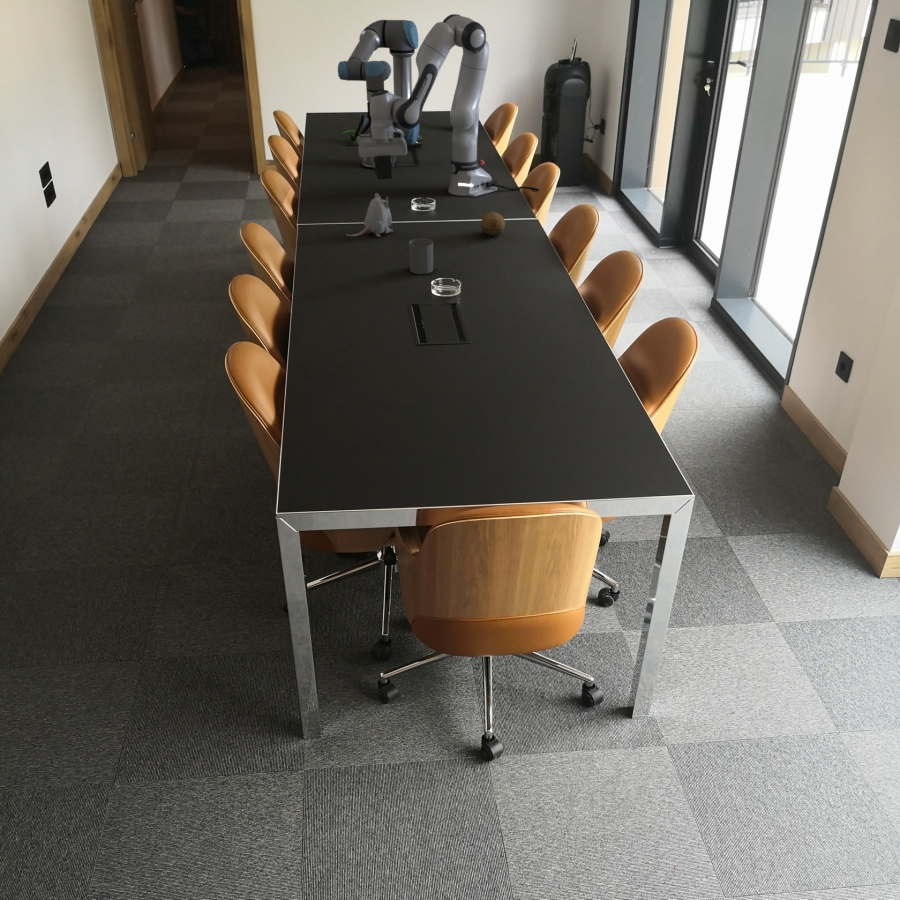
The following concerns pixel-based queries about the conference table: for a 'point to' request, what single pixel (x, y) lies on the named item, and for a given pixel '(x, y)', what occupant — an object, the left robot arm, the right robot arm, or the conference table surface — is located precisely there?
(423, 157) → the conference table surface
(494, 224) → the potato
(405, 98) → the left robot arm
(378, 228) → the toy
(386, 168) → the bar
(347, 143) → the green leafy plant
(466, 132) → the right robot arm
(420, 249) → the cup
